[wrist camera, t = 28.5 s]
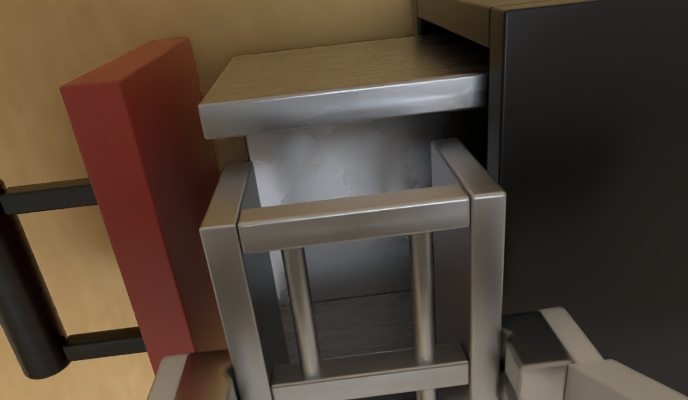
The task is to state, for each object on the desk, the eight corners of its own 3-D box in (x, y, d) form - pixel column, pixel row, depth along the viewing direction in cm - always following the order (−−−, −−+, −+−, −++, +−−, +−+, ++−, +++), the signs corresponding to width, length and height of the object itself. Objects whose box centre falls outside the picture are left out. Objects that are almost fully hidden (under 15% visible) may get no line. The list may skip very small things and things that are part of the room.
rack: (458, 395, 14) (496, 498, 11) (278, 419, 14) (271, 528, 11) (457, 136, 11) (508, 191, 8) (224, 163, 11) (197, 228, 8)
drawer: (102, 342, 21) (17, 501, 15) (-6, 58, 16) (-198, 115, 10) (545, 287, 21) (644, 418, 15) (570, -6, 16) (730, 11, 10)
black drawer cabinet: (423, 300, 22) (489, 482, 14) (411, -11, 17) (504, 10, 9) (749, 260, 23) (984, 415, 15) (837, -57, 17) (1276, -76, 10)
